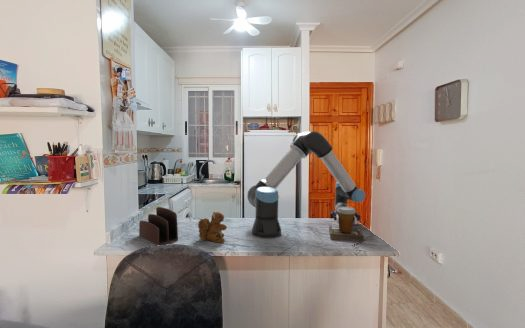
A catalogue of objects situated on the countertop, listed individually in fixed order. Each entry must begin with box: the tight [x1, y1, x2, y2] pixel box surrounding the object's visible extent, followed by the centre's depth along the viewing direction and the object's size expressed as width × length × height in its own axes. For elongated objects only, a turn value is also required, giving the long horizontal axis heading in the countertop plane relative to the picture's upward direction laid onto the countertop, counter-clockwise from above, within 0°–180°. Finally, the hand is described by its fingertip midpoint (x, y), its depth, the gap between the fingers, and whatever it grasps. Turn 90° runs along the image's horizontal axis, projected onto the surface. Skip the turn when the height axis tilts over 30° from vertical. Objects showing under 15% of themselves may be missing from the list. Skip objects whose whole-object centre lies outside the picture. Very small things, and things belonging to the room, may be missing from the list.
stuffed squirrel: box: [197, 211, 227, 244], centre depth 128 cm, size 10×14×13 cm
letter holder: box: [138, 206, 179, 246], centre depth 129 cm, size 10×20×14 cm, turn 48°
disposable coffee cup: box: [337, 206, 357, 233], centre depth 140 cm, size 10×10×12 cm
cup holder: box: [328, 225, 365, 242], centre depth 137 cm, size 15×15×3 cm
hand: (346, 220), depth 135 cm, fingers closed on disposable coffee cup, 8 cm apart
